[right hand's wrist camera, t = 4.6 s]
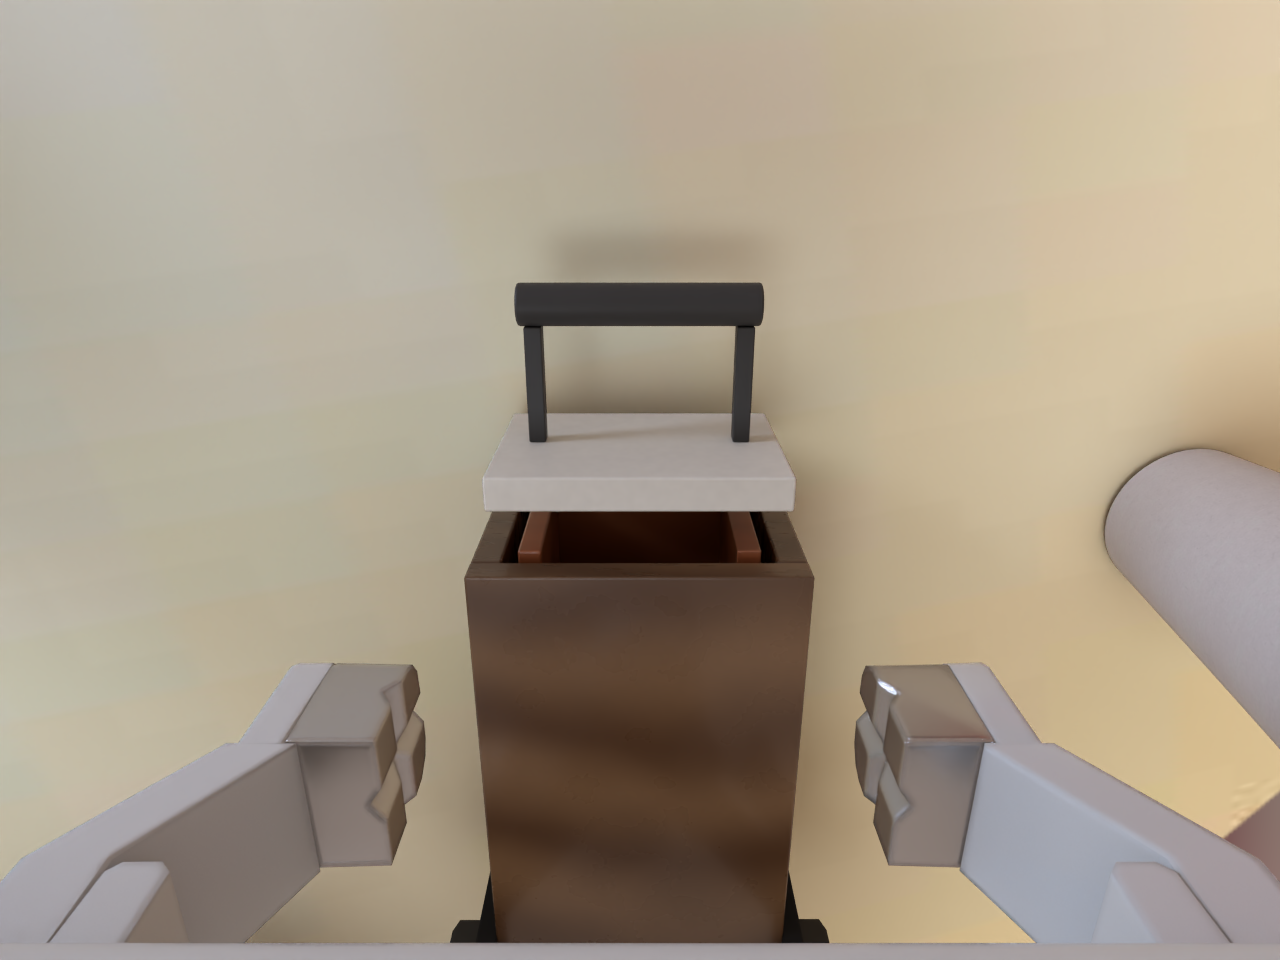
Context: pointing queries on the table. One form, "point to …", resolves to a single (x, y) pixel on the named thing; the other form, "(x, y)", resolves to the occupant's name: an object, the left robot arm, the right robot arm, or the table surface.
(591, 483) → the drawer
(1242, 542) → the coffee cup
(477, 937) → the left robot arm
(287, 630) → the table surface
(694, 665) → the wooden drawer box
